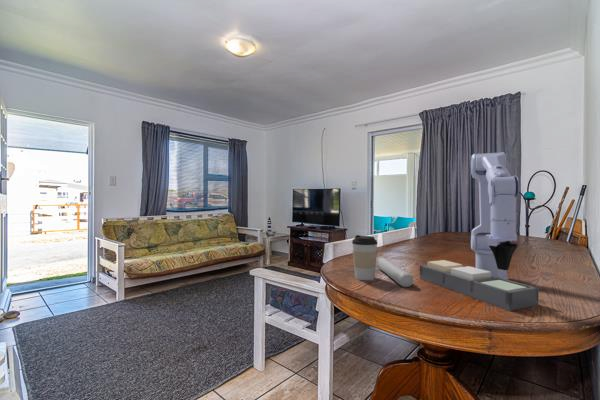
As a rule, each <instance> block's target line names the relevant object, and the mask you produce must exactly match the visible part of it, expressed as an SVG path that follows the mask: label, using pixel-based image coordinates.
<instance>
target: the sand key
mask: <svg viewBox="0 0 600 400" xmlns="http://www.w3.org/2000/svg"><path fill="white" fill-rule="evenodd" d="M426 265H427V267H429V268H433V269H436V270H439V271H443V272H451V268H458V267H464V266H463V264H461V263H458V262H453V261H450V260H445V259H440V260H432V261H431V260H430V261H427V264H426Z"/></svg>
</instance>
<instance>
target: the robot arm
mask: <svg viewBox="0 0 600 400" xmlns="http://www.w3.org/2000/svg"><path fill="white" fill-rule="evenodd" d="M470 170H471V172H470V173H471V178H473V179H475V180H476V181H477V183H478V195H479V197H478V198H479V200H478V201H479V203H478V204H479V225H477V226H475V227H474V228H472V230H471V232H470V233H471V234H470V248H471V250H472V251H473V252H474V253H475V268H478V269H482V270H486V271H490V272H491V276H495V277H499V278H503V279H506V280H510V277H508V275H507V273H508V272H507V271H508V270H509V268H510V265H511V261H512V257H513V255H514V253H515V252H516V249H517V248H518V246H519V245H518V243H512V242H517V241H518V234H517V232H516V231H517V202H516V201H517V197H518V196H519V193H520V181H519V177H518V176H517V175H512V176H511V174H510V172H509V170H508V168H507V155H506V153H505V152H504V151H501V152H488V153H473V154H472V155H471V157H470Z"/></svg>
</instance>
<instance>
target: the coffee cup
mask: <svg viewBox="0 0 600 400" xmlns="http://www.w3.org/2000/svg"><path fill="white" fill-rule="evenodd" d="M351 241H352V242H351V243H352V257H353V258H352V259H353V260H352V261H353V266H354V277H355V279H356V280H360V281H373V280H375V275H376V267H377V257H378V256H377V255H378V249H377V248H378V240H377V239H376V238H375V236H370V235H360V234H359V235H358V234H356V235H355V236H354V239H352V240H351Z"/></svg>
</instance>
